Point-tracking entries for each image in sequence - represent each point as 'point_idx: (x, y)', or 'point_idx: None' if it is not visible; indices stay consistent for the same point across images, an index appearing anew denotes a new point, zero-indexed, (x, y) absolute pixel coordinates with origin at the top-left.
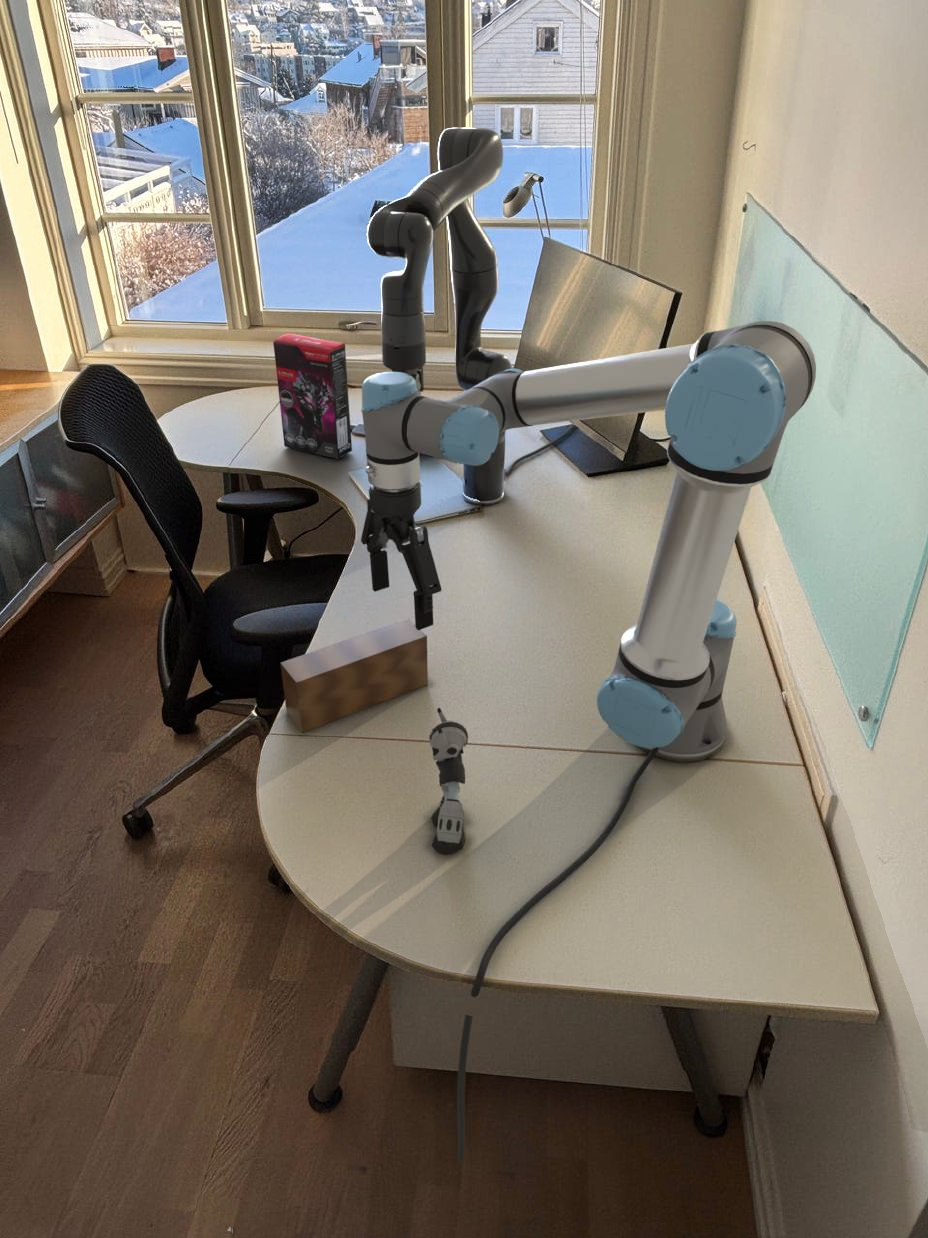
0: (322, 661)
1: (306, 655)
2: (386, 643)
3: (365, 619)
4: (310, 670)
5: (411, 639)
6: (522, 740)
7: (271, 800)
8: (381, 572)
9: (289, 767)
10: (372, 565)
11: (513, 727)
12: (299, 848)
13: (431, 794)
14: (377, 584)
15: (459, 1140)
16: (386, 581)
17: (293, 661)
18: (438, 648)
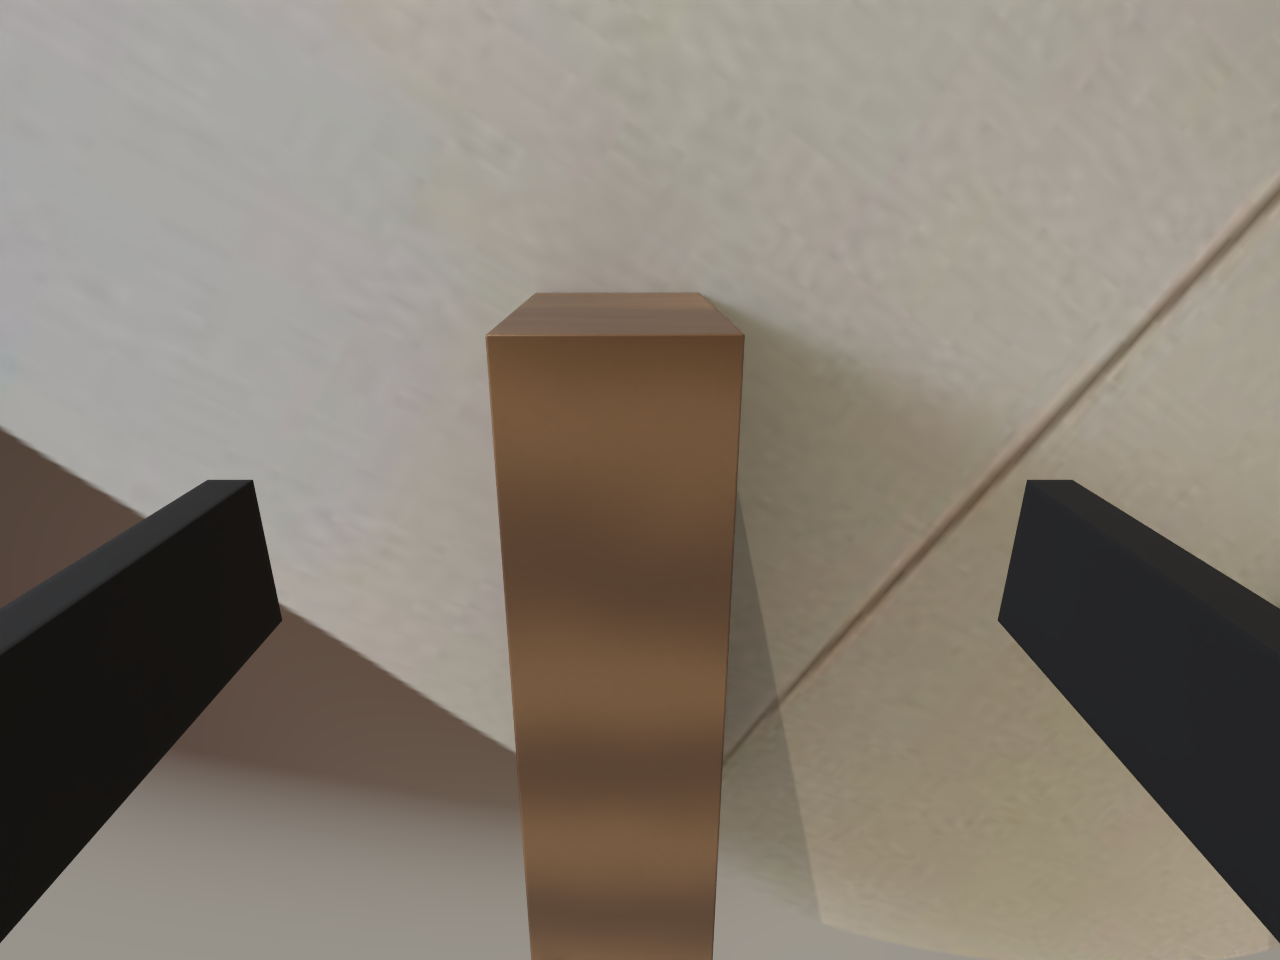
0: (628, 889)
1: (543, 925)
2: (668, 586)
3: (52, 280)
4: (662, 946)
5: (721, 444)
6: (1277, 139)
7: (887, 932)
8: (150, 654)
9: (802, 863)
10: (76, 845)
11: (1189, 119)
12: (1079, 933)
13: None
14: (240, 628)
15: None
16: (220, 537)
17: None
18: (464, 72)
